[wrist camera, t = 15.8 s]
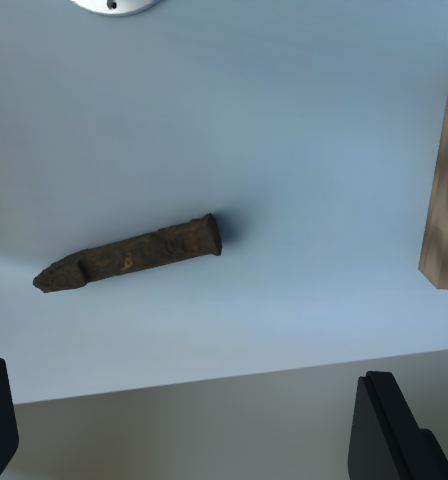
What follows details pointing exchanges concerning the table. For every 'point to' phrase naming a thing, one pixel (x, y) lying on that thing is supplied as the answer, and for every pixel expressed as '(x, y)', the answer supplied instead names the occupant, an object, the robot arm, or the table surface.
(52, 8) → the table surface
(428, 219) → the holder block
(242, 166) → the table surface
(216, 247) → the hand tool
